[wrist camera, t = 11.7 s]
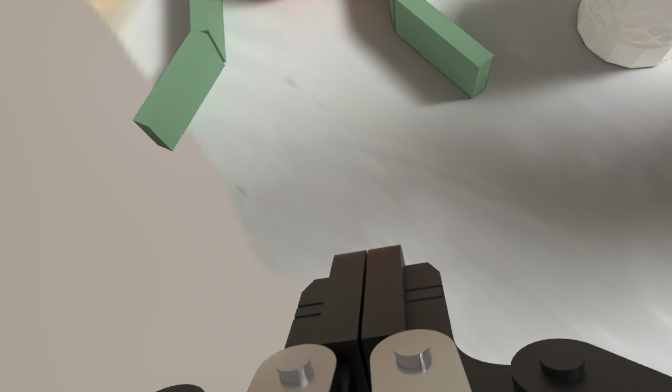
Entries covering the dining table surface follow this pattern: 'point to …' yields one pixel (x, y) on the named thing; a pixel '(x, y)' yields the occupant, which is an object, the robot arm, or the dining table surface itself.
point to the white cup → (627, 30)
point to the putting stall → (209, 54)
